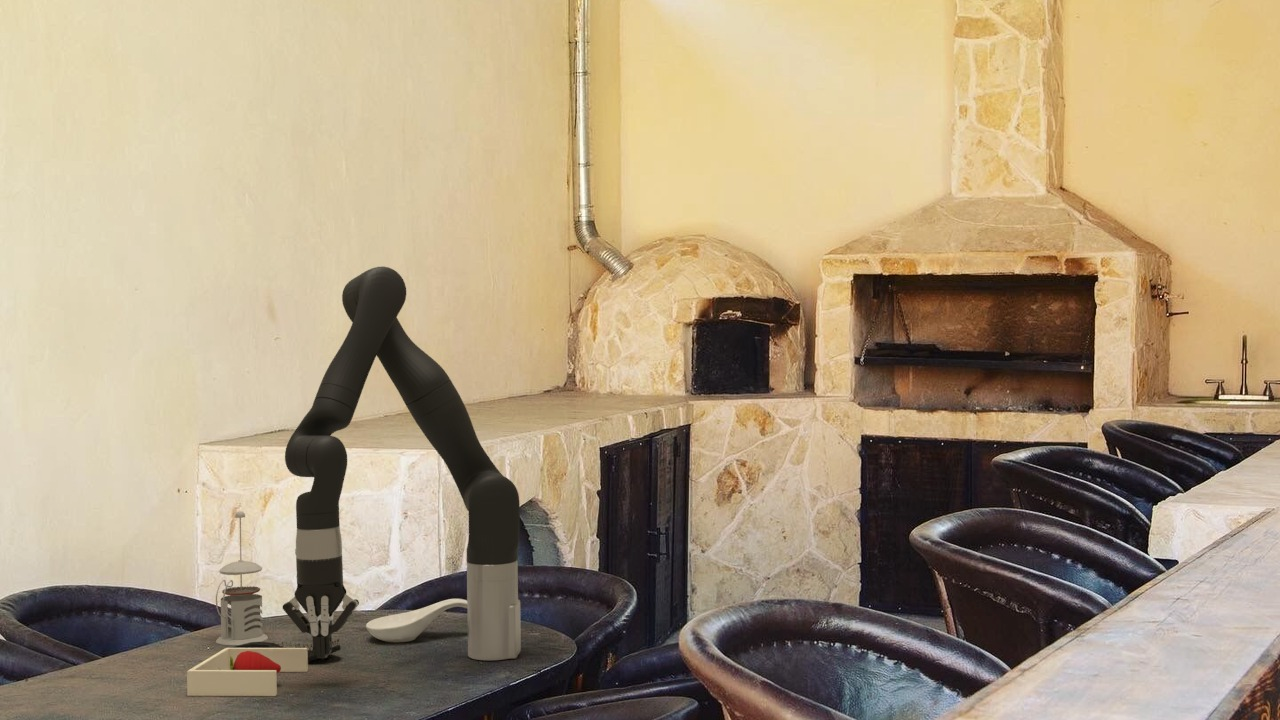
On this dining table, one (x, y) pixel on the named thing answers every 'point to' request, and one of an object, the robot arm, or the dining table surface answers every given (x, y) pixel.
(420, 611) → the spoon rest
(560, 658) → the dining table surface
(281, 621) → the dining table surface
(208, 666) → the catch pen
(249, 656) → the strawberry
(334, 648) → the hairbrush
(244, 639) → the french press
